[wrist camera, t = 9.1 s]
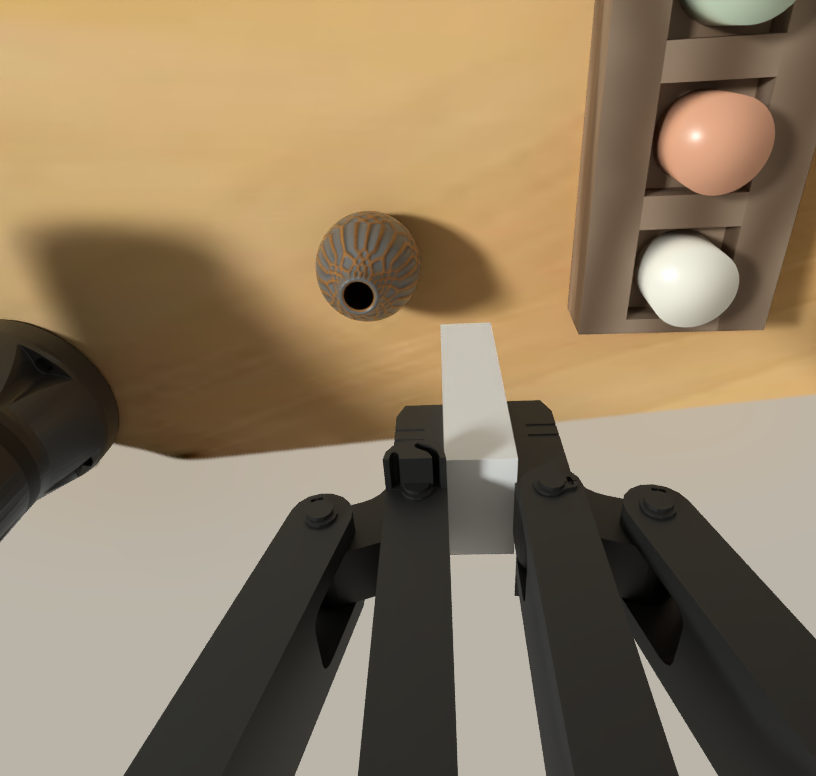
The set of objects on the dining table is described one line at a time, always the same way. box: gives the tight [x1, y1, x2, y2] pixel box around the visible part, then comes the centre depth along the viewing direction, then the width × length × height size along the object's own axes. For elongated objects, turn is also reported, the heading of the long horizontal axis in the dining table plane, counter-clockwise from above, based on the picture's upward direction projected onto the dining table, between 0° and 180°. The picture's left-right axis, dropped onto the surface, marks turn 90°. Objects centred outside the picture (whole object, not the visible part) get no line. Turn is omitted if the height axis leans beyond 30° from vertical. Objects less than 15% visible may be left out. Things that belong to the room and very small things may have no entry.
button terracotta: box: [652, 88, 775, 196], centre depth 33 cm, size 5×5×4 cm
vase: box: [316, 211, 421, 321], centre depth 38 cm, size 7×7×9 cm
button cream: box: [634, 229, 739, 327], centre depth 37 cm, size 5×5×4 cm
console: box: [568, 0, 816, 334], centre depth 35 cm, size 12×24×4 cm, turn 3°
